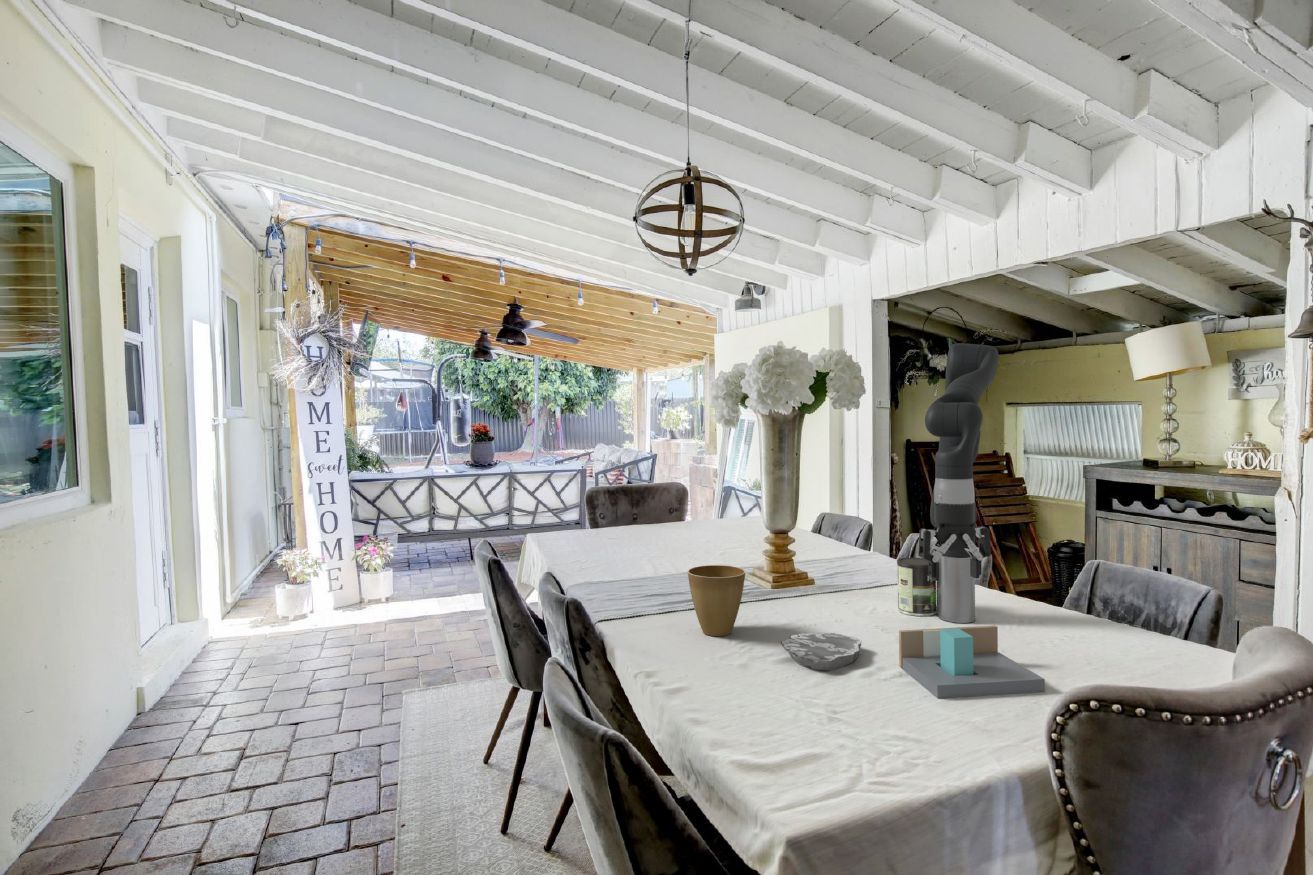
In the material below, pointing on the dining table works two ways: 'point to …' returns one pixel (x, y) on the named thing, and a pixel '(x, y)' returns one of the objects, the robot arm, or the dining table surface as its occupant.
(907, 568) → the coffee can
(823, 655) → the brain slice
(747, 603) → the dining table surface
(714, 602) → the plant pot
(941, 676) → the socket plate
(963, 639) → the teal block
